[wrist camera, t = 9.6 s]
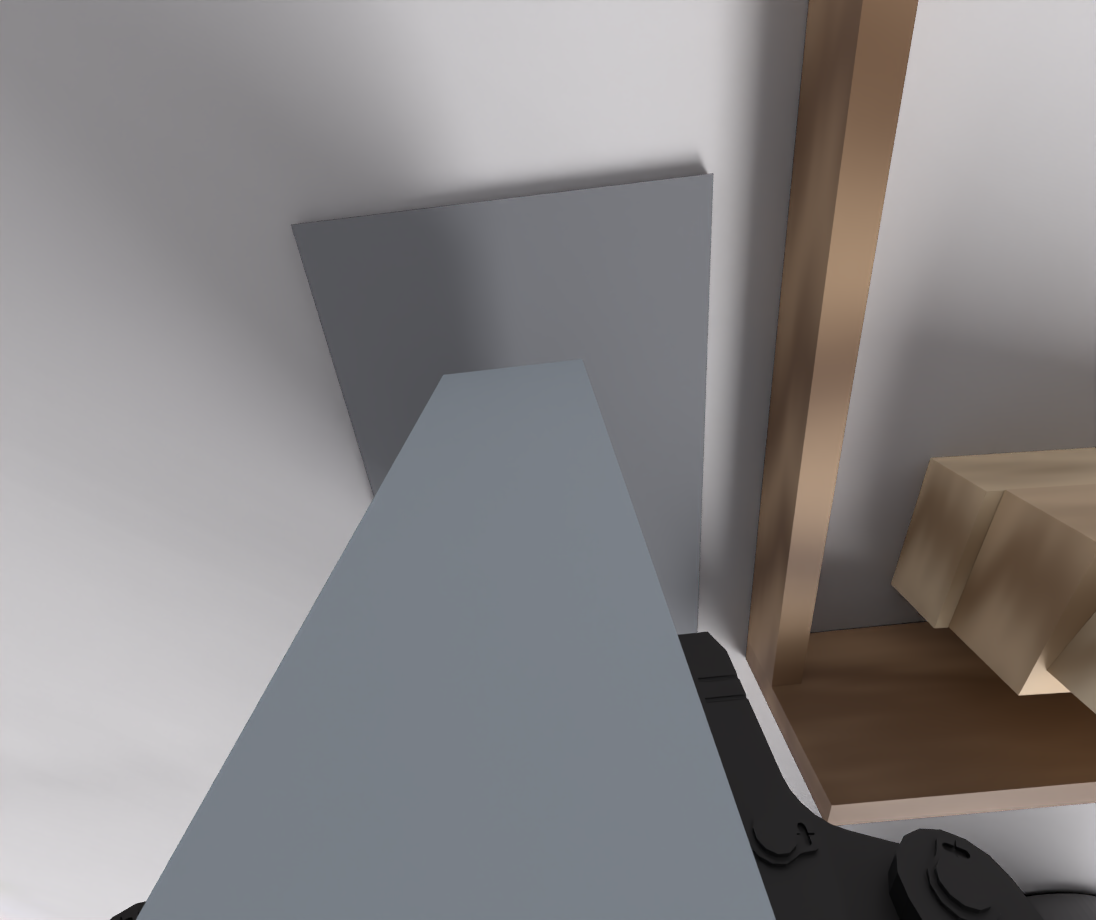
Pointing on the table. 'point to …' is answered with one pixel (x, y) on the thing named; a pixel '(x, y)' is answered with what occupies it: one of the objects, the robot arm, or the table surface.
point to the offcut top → (1079, 665)
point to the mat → (538, 328)
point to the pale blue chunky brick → (479, 703)
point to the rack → (808, 488)
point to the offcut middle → (1031, 584)
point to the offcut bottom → (970, 518)
